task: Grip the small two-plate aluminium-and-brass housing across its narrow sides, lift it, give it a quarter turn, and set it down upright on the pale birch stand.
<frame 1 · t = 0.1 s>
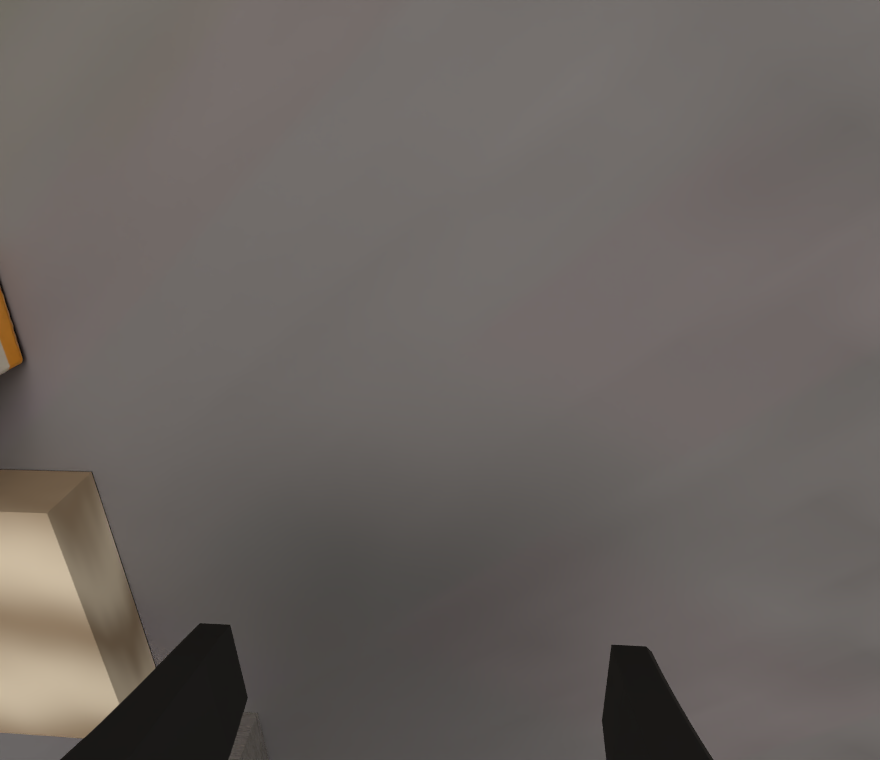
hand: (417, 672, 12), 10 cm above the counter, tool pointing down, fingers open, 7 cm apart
housing: (225, 758, 30), on the counter
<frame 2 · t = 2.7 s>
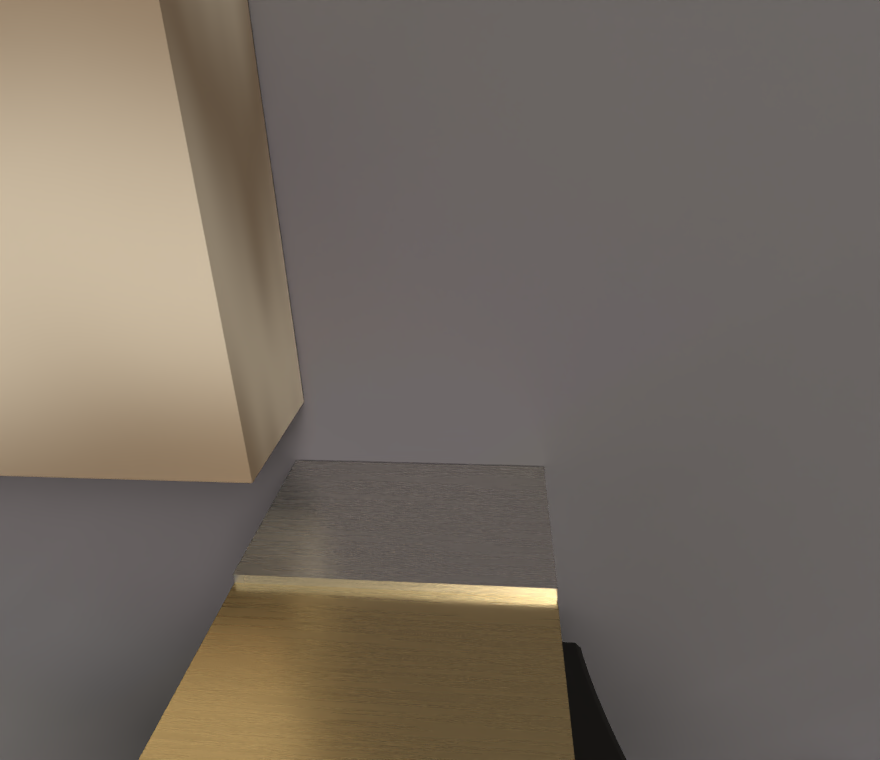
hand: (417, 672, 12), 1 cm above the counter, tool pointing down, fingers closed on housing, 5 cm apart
housing: (425, 614, 13), on the counter, touching gripper
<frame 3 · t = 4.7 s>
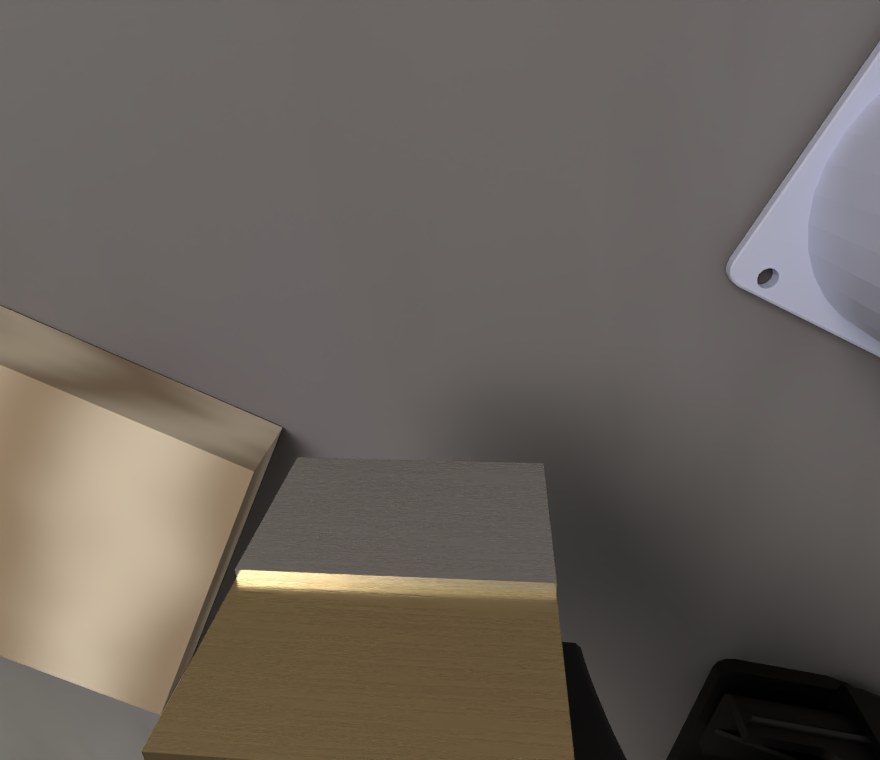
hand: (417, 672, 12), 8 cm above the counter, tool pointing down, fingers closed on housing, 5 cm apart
housing: (426, 610, 13), point 7 cm above the counter, touching gripper
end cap: (765, 744, 24), on the counter
stand: (70, 490, 21), on the counter
when the fingers open (5 cm above the counter, at t = 6.8 s): housing stays where it is, resting on stand.
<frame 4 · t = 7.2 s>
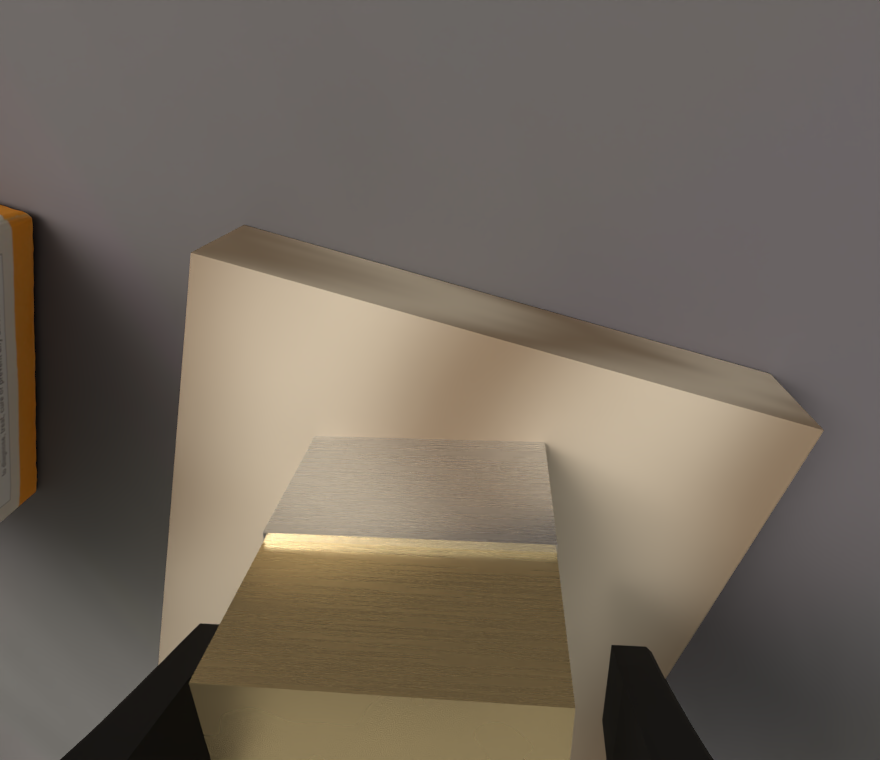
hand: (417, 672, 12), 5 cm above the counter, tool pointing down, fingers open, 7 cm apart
housing: (433, 582, 14), point 2 cm above the counter, touching stand
stand: (440, 511, 16), on the counter
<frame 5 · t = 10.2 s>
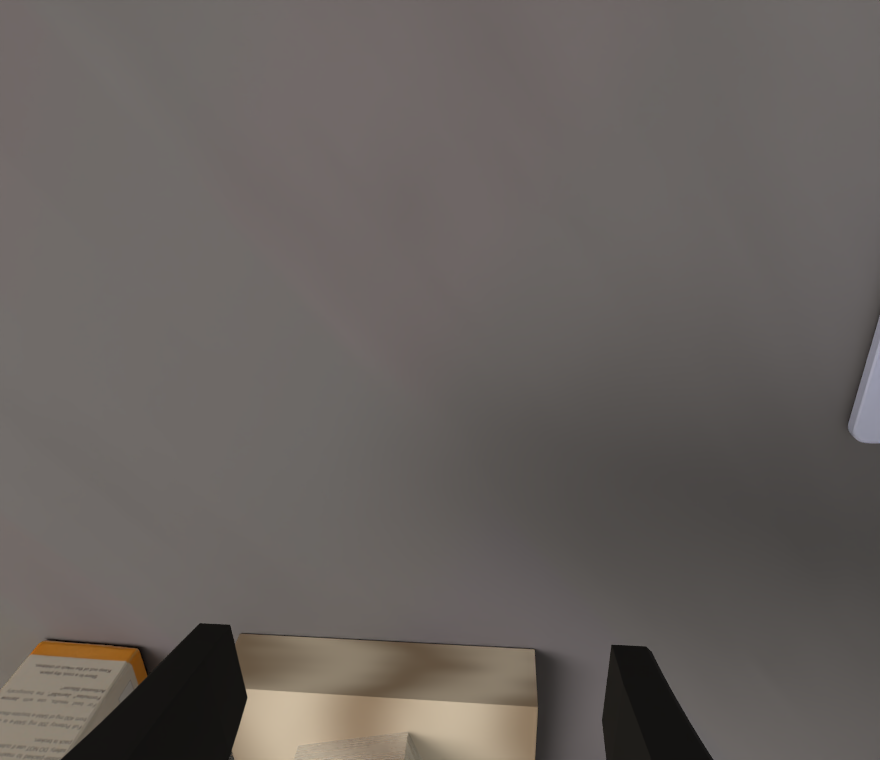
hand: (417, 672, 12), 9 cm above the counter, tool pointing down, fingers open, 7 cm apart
supplement box: (114, 700, 28), on the counter
stand: (393, 738, 27), on the counter
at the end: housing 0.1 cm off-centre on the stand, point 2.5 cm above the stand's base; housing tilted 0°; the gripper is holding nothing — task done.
